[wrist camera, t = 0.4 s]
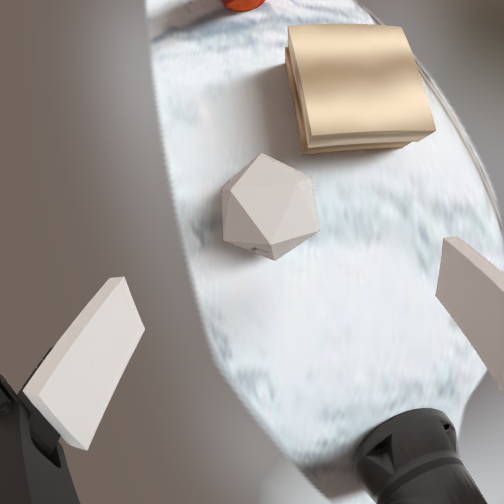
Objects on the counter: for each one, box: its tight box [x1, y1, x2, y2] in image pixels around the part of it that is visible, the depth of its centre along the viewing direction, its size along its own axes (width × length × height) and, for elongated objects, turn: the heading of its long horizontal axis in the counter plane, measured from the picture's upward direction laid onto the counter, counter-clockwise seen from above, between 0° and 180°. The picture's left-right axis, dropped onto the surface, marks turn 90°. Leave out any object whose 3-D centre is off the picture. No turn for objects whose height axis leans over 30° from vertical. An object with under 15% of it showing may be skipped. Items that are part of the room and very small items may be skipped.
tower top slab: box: [288, 24, 436, 148], centre depth 22 cm, size 11×11×4 cm
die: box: [221, 153, 320, 260], centre depth 26 cm, size 8×9×10 cm
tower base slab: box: [285, 47, 411, 155], centre depth 26 cm, size 11×11×4 cm
